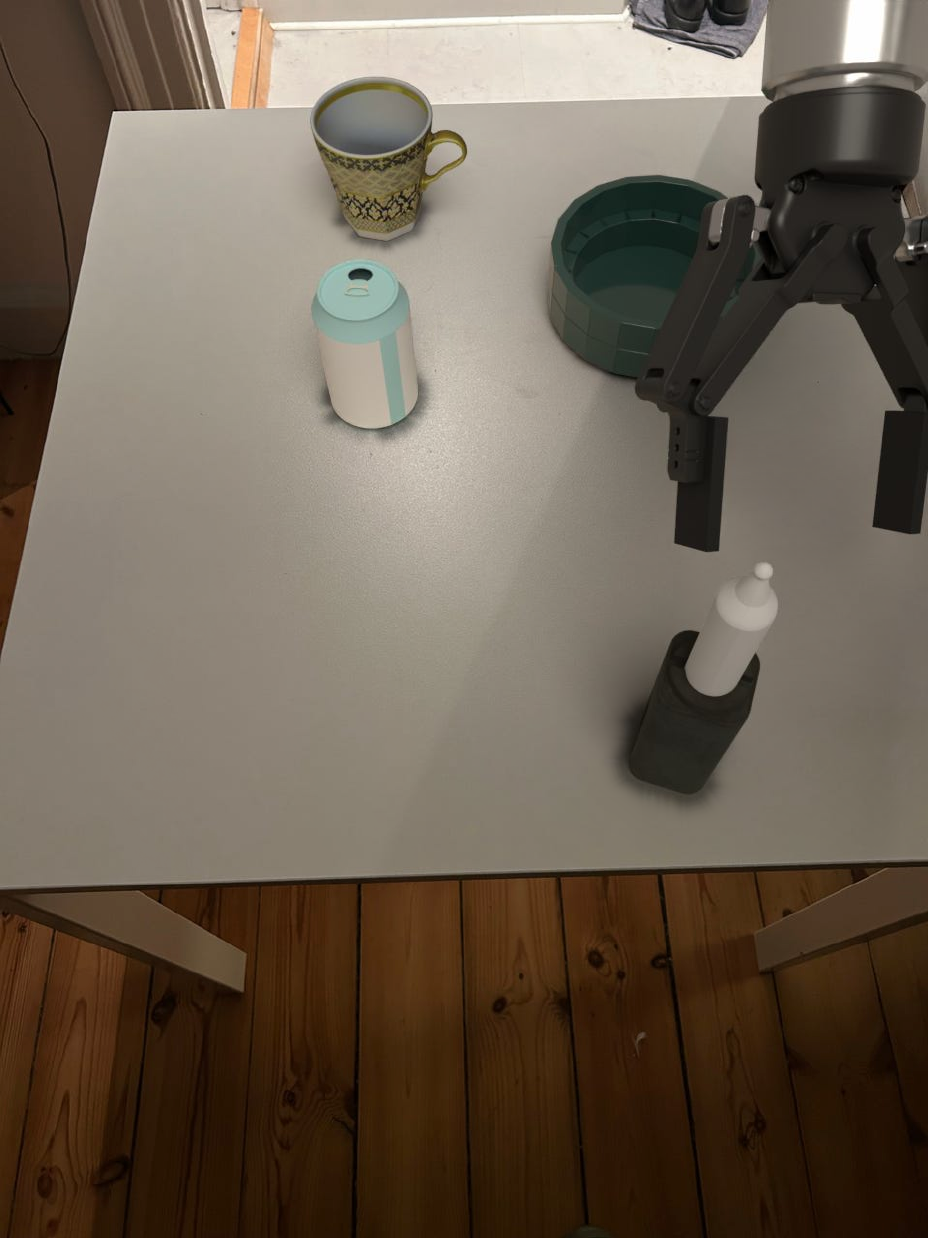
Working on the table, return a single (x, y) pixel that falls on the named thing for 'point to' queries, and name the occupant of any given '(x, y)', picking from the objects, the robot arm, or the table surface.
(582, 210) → the bowl
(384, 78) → the ceramic cup
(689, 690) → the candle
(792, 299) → the robot arm
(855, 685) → the table surface
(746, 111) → the table surface
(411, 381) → the can
